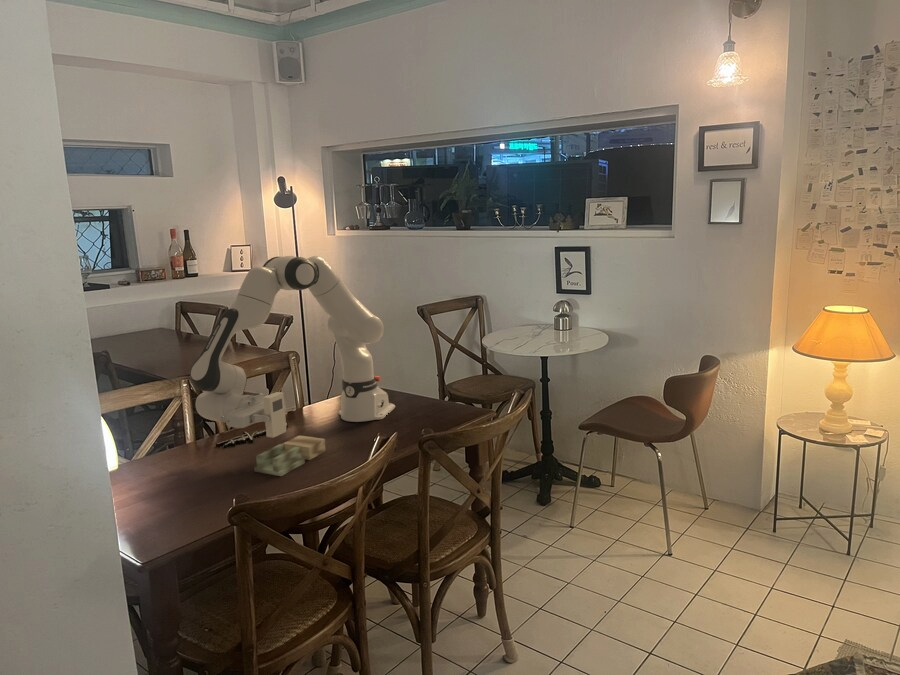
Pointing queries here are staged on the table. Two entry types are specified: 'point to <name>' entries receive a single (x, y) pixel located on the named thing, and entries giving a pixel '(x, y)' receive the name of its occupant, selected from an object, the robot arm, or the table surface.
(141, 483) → the table surface
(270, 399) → the white block with panel
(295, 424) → the table surface
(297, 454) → the rack
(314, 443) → the stand
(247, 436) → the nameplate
